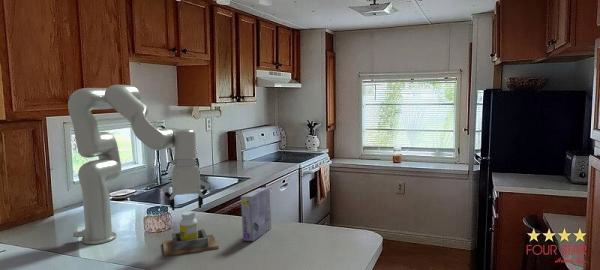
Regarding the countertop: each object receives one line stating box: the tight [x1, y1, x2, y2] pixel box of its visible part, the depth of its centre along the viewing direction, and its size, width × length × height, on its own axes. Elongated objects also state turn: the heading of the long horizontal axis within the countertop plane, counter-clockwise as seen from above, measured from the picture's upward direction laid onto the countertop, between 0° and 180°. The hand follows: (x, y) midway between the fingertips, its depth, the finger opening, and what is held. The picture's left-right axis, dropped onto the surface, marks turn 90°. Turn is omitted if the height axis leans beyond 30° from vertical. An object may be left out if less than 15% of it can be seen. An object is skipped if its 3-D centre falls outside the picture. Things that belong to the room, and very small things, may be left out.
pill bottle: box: [179, 211, 199, 241], centre depth 160 cm, size 6×6×12 cm
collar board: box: [162, 228, 219, 257], centre depth 161 cm, size 19×14×4 cm
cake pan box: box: [240, 186, 272, 243], centre depth 172 cm, size 19×5×18 cm, turn 160°
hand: (186, 208), depth 160 cm, fingers open, 9 cm apart
